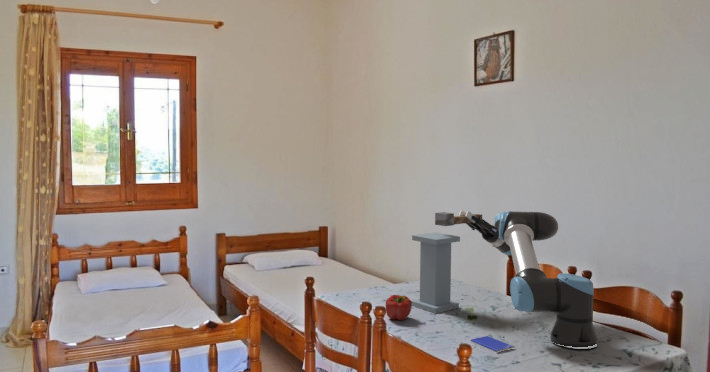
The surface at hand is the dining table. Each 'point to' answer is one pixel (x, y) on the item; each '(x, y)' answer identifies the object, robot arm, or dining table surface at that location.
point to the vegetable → (398, 307)
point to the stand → (435, 272)
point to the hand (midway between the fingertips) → (463, 213)
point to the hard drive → (491, 344)
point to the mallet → (451, 219)
